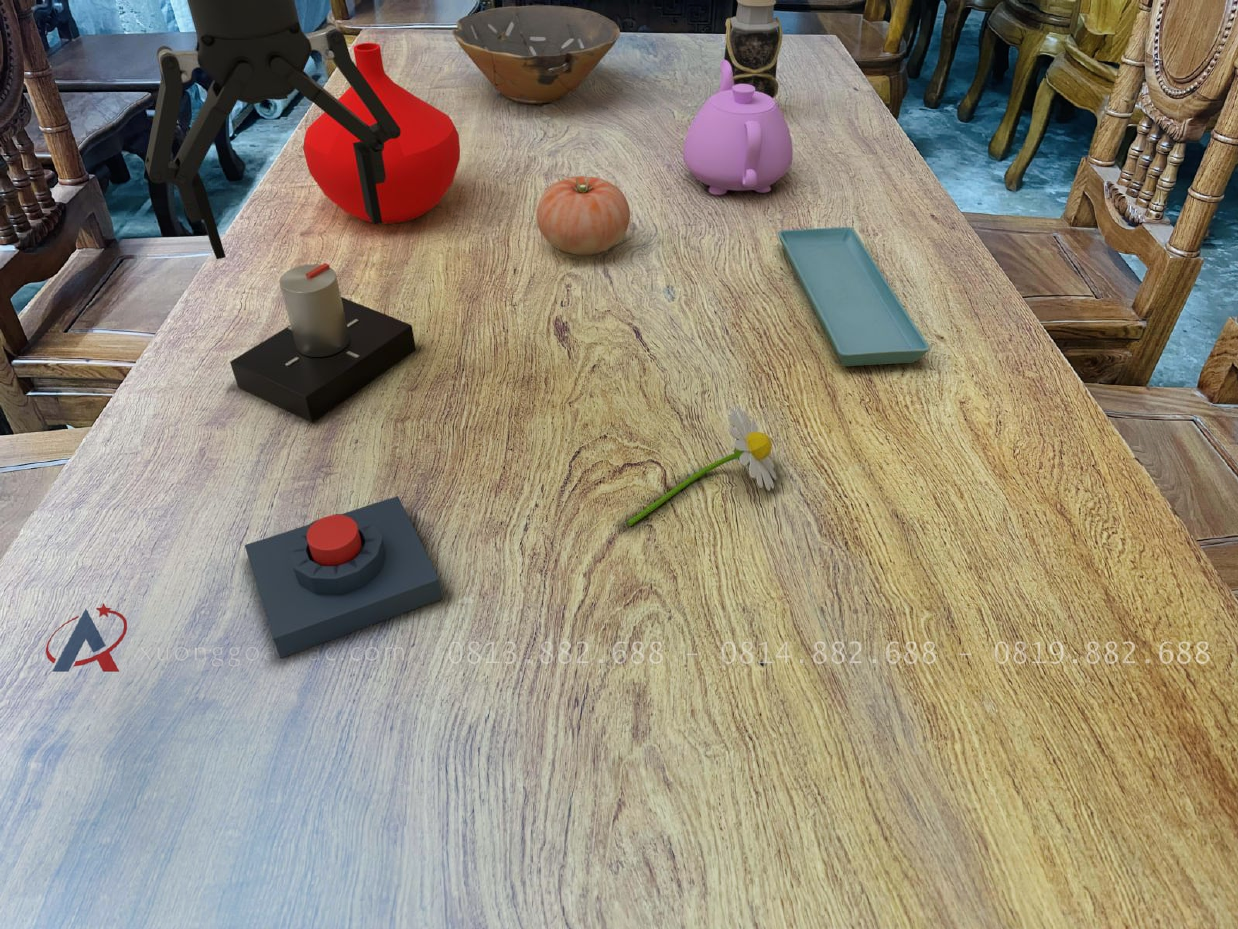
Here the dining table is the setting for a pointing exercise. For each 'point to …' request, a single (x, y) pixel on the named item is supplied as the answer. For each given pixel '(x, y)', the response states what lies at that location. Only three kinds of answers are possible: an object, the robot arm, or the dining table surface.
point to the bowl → (536, 48)
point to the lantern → (754, 45)
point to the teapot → (738, 139)
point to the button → (334, 540)
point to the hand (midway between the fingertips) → (298, 234)
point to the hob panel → (324, 364)
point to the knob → (315, 310)
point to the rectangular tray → (852, 297)
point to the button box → (342, 579)
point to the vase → (385, 149)
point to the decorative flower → (746, 449)
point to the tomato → (583, 215)
